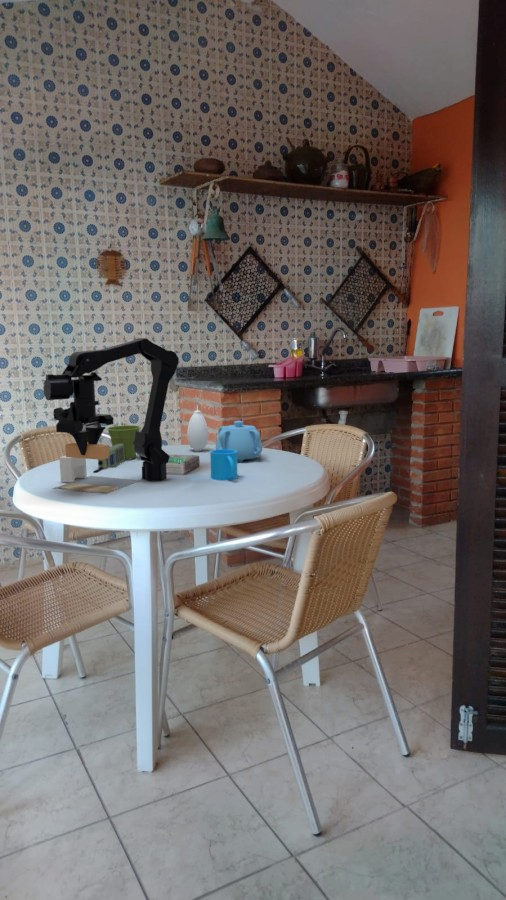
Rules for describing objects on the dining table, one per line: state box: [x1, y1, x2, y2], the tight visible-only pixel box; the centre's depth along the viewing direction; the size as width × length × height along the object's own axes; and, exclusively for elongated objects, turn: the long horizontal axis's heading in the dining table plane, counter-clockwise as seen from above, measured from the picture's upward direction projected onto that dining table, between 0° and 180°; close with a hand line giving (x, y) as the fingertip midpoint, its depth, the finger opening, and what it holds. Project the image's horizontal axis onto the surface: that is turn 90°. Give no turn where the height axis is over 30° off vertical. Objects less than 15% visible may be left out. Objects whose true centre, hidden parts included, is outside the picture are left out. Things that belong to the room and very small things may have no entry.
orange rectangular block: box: [64, 442, 110, 461], centre depth 180 cm, size 12×4×4 cm, turn 68°
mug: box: [209, 449, 238, 481], centre depth 198 cm, size 12×8×8 cm
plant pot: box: [106, 424, 141, 461], centre depth 231 cm, size 12×12×11 cm
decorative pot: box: [215, 420, 263, 463], centre depth 229 cm, size 16×16×14 cm
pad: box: [58, 482, 120, 494], centre depth 182 cm, size 16×6×1 cm, turn 68°
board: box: [52, 475, 141, 495], centre depth 187 cm, size 18×18×1 cm
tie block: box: [59, 455, 88, 483], centre depth 192 cm, size 4×7×7 cm, turn 158°
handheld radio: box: [92, 443, 126, 474], centre depth 215 cm, size 7×3×25 cm
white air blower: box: [186, 403, 209, 452], centre depth 245 cm, size 8×8×18 cm
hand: (87, 453), depth 180 cm, fingers closed on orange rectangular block, 3 cm apart
